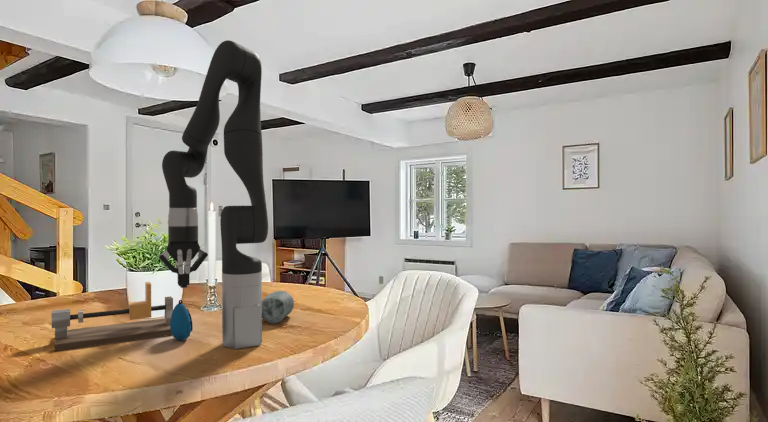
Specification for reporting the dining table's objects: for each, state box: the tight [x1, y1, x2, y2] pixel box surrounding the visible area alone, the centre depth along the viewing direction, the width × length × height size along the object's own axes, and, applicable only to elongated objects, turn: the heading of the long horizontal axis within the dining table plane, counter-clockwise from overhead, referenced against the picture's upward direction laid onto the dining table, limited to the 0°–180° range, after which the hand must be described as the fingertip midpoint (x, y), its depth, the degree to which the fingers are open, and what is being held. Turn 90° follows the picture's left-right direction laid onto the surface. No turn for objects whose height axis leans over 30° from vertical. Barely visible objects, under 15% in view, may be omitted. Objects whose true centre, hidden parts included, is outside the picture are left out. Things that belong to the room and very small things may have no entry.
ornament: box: [170, 299, 194, 341], centre depth 116 cm, size 8×5×10 cm, turn 41°
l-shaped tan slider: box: [127, 281, 152, 321], centre depth 123 cm, size 4×5×9 cm
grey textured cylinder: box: [262, 290, 295, 325], centre depth 136 cm, size 14×10×10 cm
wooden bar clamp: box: [51, 295, 174, 352], centre depth 120 cm, size 14×27×8 cm, turn 123°
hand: (183, 287), depth 129 cm, fingers closed
